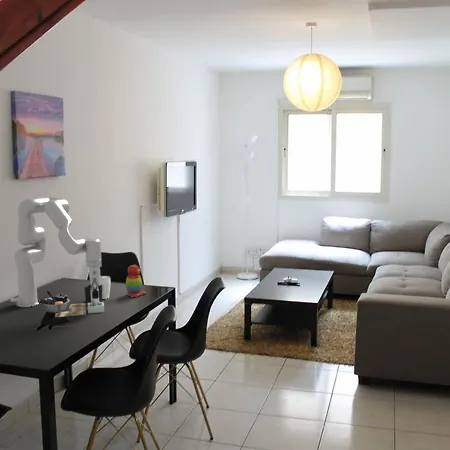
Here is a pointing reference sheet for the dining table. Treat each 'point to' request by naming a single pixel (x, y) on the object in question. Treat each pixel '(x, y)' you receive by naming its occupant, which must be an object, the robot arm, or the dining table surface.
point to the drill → (94, 300)
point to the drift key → (58, 304)
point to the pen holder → (88, 293)
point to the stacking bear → (134, 281)
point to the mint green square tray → (96, 308)
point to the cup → (105, 286)
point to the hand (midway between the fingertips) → (95, 296)
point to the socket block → (73, 310)
